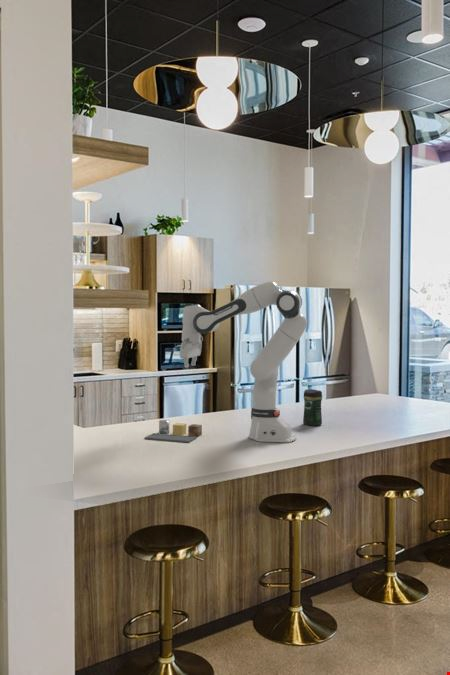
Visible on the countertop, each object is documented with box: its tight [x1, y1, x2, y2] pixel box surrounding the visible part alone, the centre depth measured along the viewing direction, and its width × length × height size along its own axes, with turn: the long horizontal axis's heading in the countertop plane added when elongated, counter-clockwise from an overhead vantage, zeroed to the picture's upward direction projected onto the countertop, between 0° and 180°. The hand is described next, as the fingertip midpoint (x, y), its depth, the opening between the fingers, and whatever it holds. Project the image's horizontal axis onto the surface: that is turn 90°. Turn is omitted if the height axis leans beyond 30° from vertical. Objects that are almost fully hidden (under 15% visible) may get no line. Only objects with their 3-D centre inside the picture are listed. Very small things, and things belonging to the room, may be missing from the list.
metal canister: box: [158, 419, 170, 435], centre depth 314 cm, size 5×5×6 cm
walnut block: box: [187, 423, 203, 438], centre depth 310 cm, size 5×5×5 cm
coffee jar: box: [302, 389, 323, 427], centre depth 340 cm, size 10×8×19 cm
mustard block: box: [172, 422, 187, 436], centre depth 312 cm, size 5×5×5 cm
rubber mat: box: [144, 432, 198, 444], centre depth 302 cm, size 22×10×1 cm, turn 72°
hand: (190, 366), depth 312 cm, fingers open, 8 cm apart
